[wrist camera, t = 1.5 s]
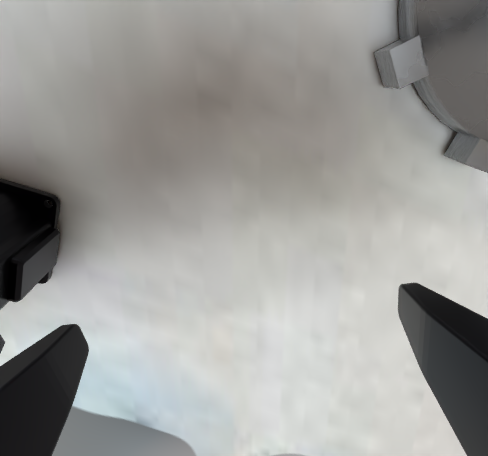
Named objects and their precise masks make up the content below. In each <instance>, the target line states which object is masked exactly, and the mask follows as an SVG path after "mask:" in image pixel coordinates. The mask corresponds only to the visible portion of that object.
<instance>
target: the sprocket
mask: <svg viewBox="0 0 488 456" xmlns="http://www.w3.org/2000/svg"><path fill="white" fill-rule="evenodd" d="M398 14H399V32H400V40H398V41H396V42H394V43H392V44H390V45H388V46H386V47H384V48H382V49H380V50H378V51H376V52H374V54H375V58H376V61H377V65H378V68H379V72H380V75H381V79H382V82H383V86H384V87H388V88H397V89H401V88H403V87H405V86H407V85H409V84H411V83H413V84H414V86H415V88H416V90H417V92H418V94H419V96H420V97H421V98H422V100H423V101H424V103H425V104H426V105H427V107H428V108H429V110H430V111H431V112H432V113H433V114H434V115H435V116H436V117H437V118H438V119H439V120H440V121H441V122H443V123H444V124H446V125H447V126H448V127H450V128H451V129H453V130H454V131H455V132H457V134H456V136H455V138H454V139H453V141H452V143H451V144H450V146H449V148H448V149H447V151H446V153H445V154H444V156H446V157H449V158H451V159H453V160H456V161H458V162H461V163H463V164H466V165H468V166H471V167H474V168H476V169H479V170H481V171H484V172H487V173H488V0H399V10H398Z"/></svg>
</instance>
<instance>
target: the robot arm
mask: <svg viewBox="0 0 488 456" xmlns="http://www.w3.org/2000/svg"><path fill="white" fill-rule="evenodd" d="M47 200H49V201H51V202H52V205H49V204H48V202H47ZM59 208H60V201H59V199H58V198H57V197H56V196H55V195H53V194H50V193H46V192H43V191H40V190H36V189H33V188H30V187H27V186H23V185H20V184H17V183H13V182H10V181H7V180H3V179H0V310H1V309H2V308H3V307H4V306H5V305H6V304H7V303H8V302H9V301H13V302H18V301H20V300H22V299H23V298H24V297H25V296H26V294H27V293H28V292H29V291H30V290H31V289H32V288H33V287H34V286H35V285H36V284H37V283H41V284H43V283H46V282H47V281H48V280H49V279H50V278H51V273H52V268H53V267H54V266H55V265H56V261H57V253H58V246H59V238H60V232H59V230H58V229H57V224H58V216H59ZM398 313H399V317H400V320H401V322H402V325H403V327H404V330H405V332H406V335H407V337H408V340H409V342H410V345H411V347H412V350H413V352H414V355H415V357H416V359H417V362H418V364H419V367H420V369H421V371H422V373H423V375H424V377H425V379H426V381H427V383H428V385H429V386H430V388H431V390H432V392H433V394H434V396H435V397H436V399H437V401H438V403H439V405H440V407H441V408H442V410H443V412H444V414H445V416H446V418H447V419H448V421H449V423H450V425H451V427H452V429H453V430H454V432H455V434H456V436H457V438H458V440H459V442H460V443H461V445H462V447H463V449H464V451H465V453H466V454H467V456H488V319H487V318H485V317H483V316H481V315H479V314H477V313H475V312H473V311H471V310H470V309H468V308H466V307H464V306H462V305H460V304H458V303H456V302H454V301H452V300H450V299H448V298H446V297H444V296H442V295H440V294H438V293H436V292H434V291H432V290H430V289H428V288H426V287H424V286H422V285H420V284H418V283H407V284H401V285H400V286H399V294H398ZM4 344H5V341H4V339H3V338H2V336H1V335H0V353H1V351H2V348H3V346H4ZM88 352H89V347H88V344H87V341H86V339H85V337H84V335H83V333H82V331H81V329H80V327H79V326H78V325H77V324H69V325H63V326H60V327H59V328H57V329H56V330H54V331H53V332H51V333H50V334H48V335H47V336H45V337H44V338H42V339H41V340H39V341H38V342H36V343H35V344H33V345H32V346H30V347H29V348H27V349H26V350H24V351H23V352H21V353H20V354H18V355H17V356H15V357H14V358H12V359H11V360H9V361H8V362H6V363H5V364H3V365H2V366H0V456H52V454H53V451H54V449H55V446H56V444H57V442H58V439H59V437H60V434H61V432H62V429H63V427H64V424H65V422H66V420H67V417H68V415H69V412H70V409H71V407H72V404H73V401H74V398H75V396H76V392H77V389H78V386H79V382H80V379H81V376H82V373H83V369H84V366H85V363H86V359H87V356H88Z"/></svg>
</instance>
